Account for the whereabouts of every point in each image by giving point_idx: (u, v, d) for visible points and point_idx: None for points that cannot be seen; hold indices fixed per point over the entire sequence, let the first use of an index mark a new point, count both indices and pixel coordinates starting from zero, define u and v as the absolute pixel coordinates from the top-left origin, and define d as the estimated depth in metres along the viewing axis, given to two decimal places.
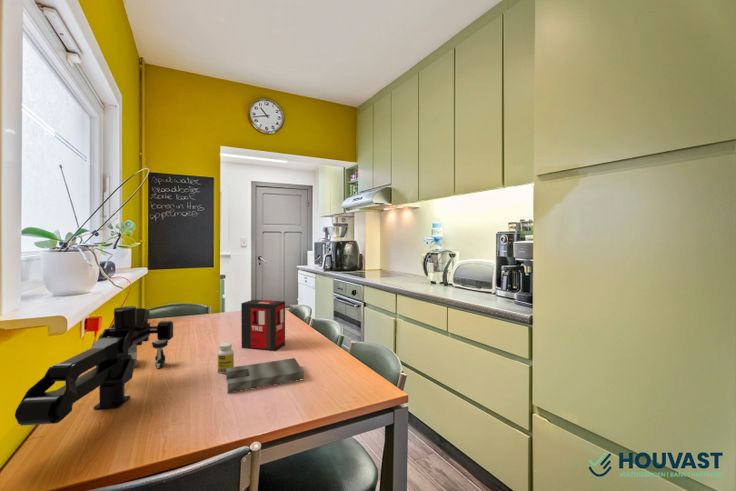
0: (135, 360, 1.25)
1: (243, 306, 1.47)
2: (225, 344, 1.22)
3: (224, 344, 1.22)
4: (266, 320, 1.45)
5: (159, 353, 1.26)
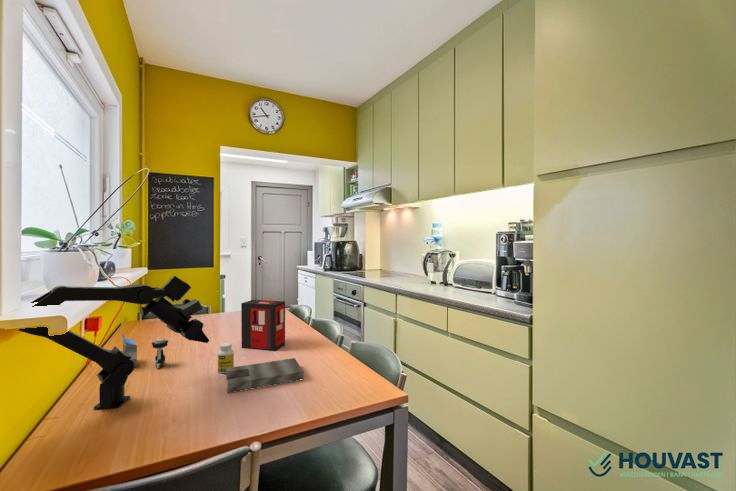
0: (135, 360, 1.25)
1: (243, 306, 1.47)
2: (225, 344, 1.22)
3: (224, 344, 1.22)
4: (266, 320, 1.45)
5: (159, 353, 1.26)
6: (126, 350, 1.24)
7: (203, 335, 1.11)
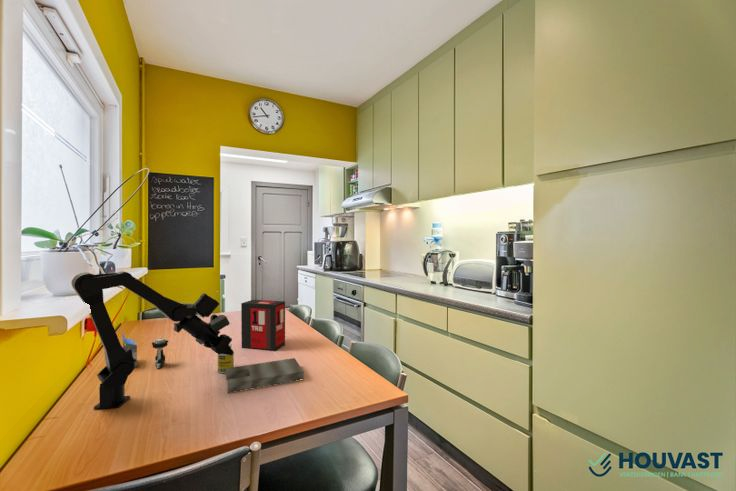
0: None
1: (243, 306, 1.47)
2: None
3: None
4: (266, 320, 1.45)
5: (159, 353, 1.26)
6: None
7: (229, 348, 1.19)
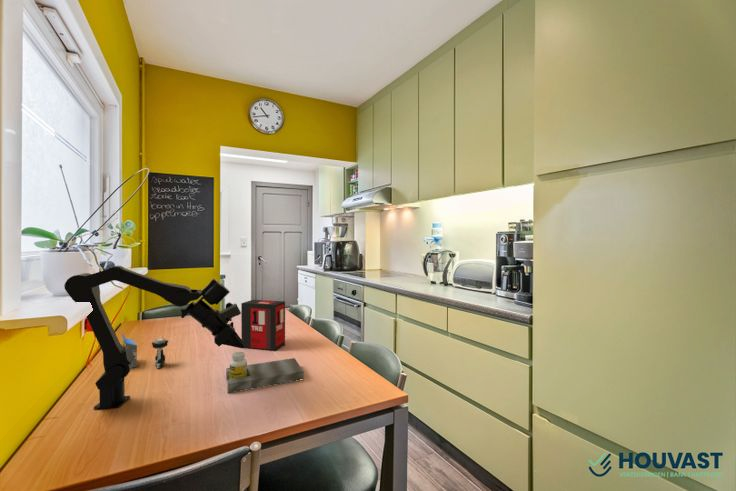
0: (135, 360, 1.25)
1: (243, 306, 1.47)
2: (238, 353, 1.12)
3: (237, 353, 1.12)
4: (266, 320, 1.45)
5: (159, 353, 1.26)
6: None
7: (237, 340, 1.09)
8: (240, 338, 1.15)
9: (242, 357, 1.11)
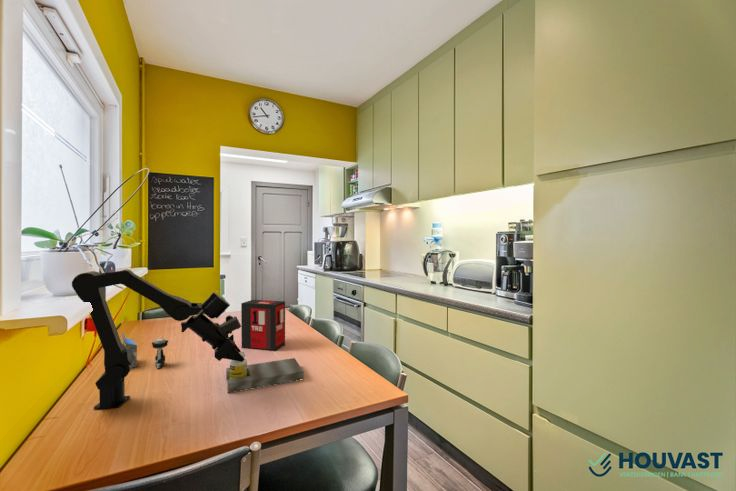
0: (135, 360, 1.25)
1: (243, 306, 1.47)
2: None
3: None
4: (266, 320, 1.45)
5: (159, 353, 1.26)
6: None
7: (237, 354, 1.09)
8: (240, 351, 1.15)
9: None
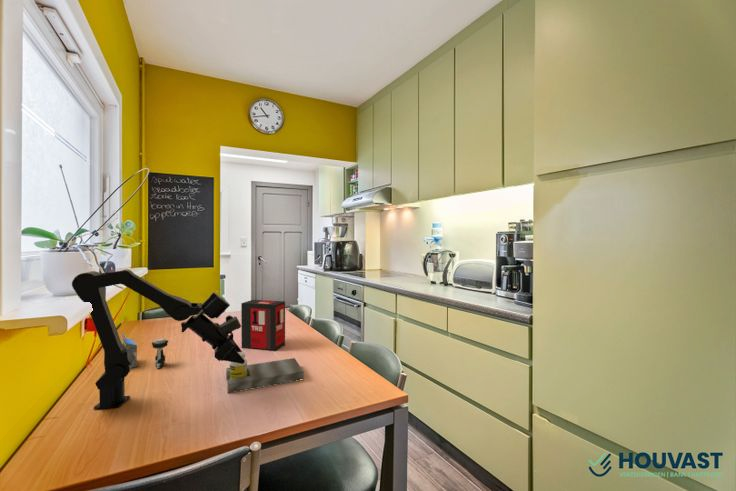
0: (135, 360, 1.25)
1: (243, 306, 1.47)
2: None
3: None
4: (266, 320, 1.45)
5: (159, 353, 1.26)
6: None
7: (237, 356, 1.07)
8: (240, 349, 1.17)
9: (242, 357, 1.11)
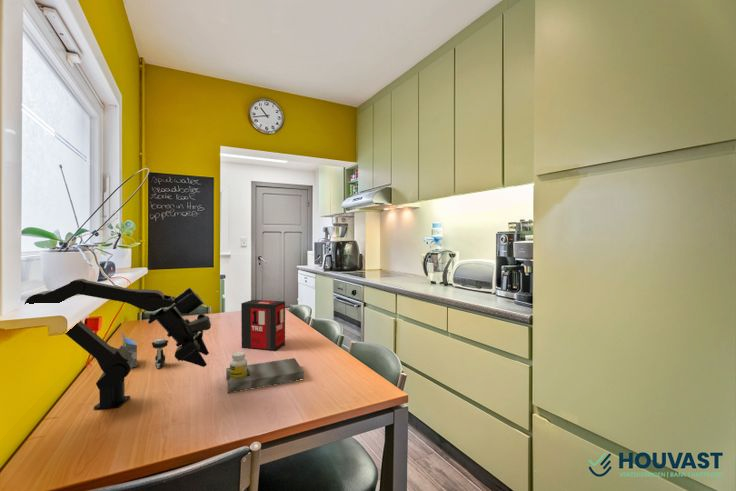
0: (135, 360, 1.25)
1: (243, 306, 1.47)
2: (238, 353, 1.12)
3: (237, 353, 1.13)
4: (266, 320, 1.45)
5: (159, 353, 1.26)
6: None
7: (199, 358, 1.03)
8: (206, 349, 1.13)
9: (242, 357, 1.11)
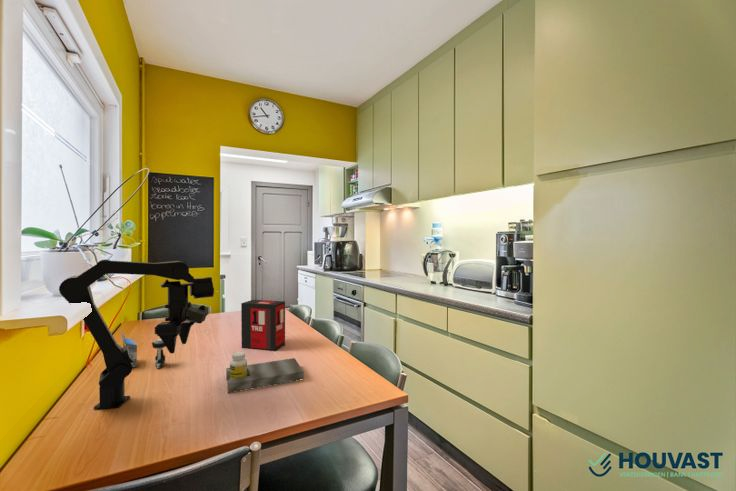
0: (135, 360, 1.25)
1: (243, 306, 1.47)
2: (238, 353, 1.12)
3: (237, 353, 1.13)
4: (266, 320, 1.45)
5: (159, 353, 1.26)
6: None
7: (172, 343, 1.02)
8: (186, 339, 1.12)
9: (242, 357, 1.11)
